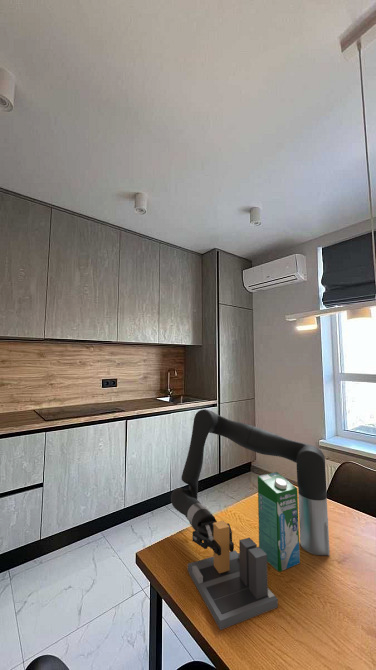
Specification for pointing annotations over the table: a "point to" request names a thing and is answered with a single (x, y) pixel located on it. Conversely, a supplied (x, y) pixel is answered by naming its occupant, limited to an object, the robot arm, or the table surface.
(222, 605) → the grey slotted tray
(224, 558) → the tall tan rectangular block
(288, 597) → the table surface
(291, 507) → the milk carton
